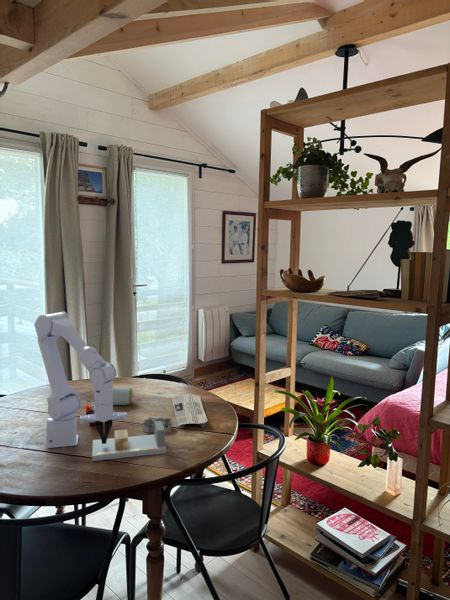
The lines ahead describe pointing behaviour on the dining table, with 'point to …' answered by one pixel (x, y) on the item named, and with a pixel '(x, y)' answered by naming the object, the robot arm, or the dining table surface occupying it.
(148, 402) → the dining table surface
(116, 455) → the gauge bed
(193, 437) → the dining table surface
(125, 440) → the beige block with peg
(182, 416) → the newspaper
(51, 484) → the dining table surface
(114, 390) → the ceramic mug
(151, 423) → the egg carton
